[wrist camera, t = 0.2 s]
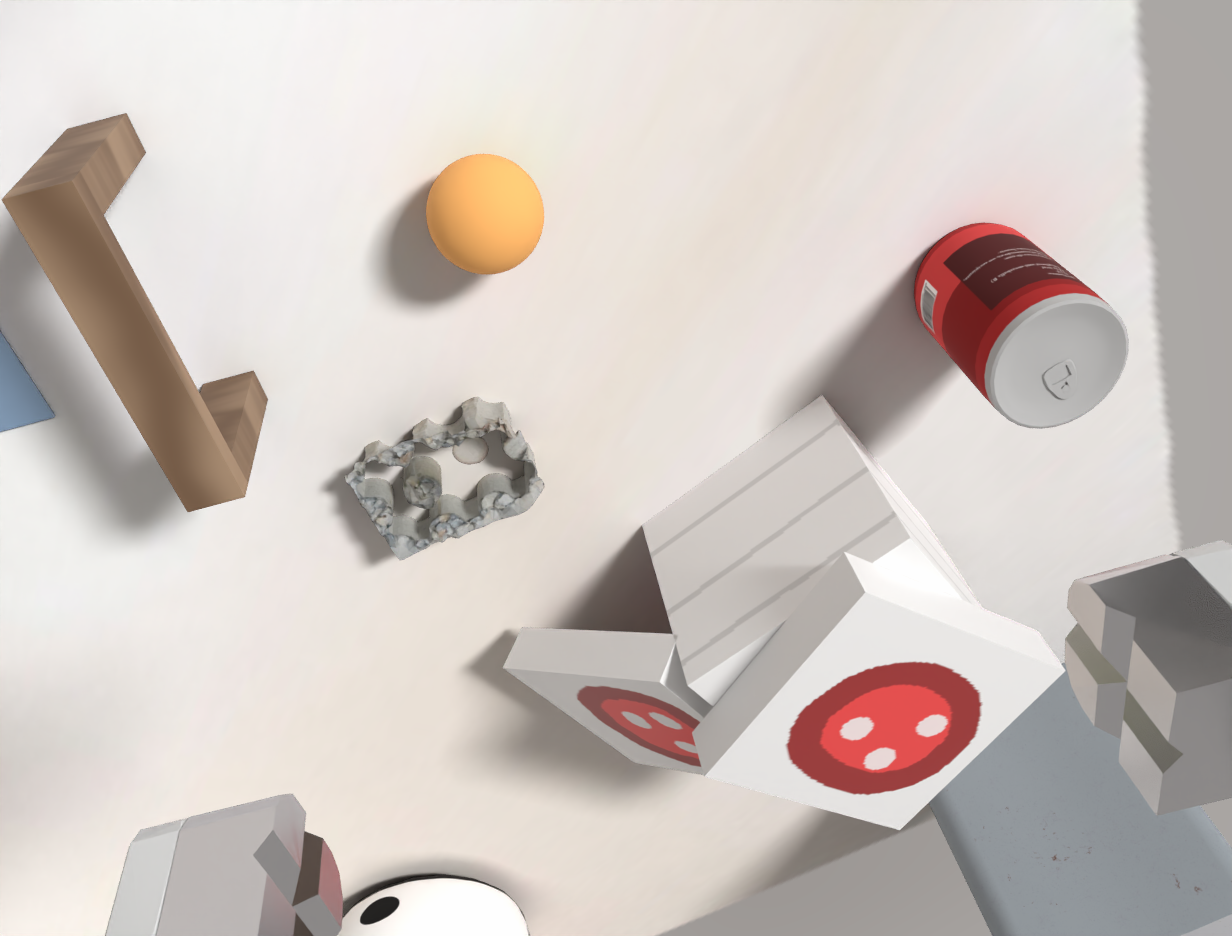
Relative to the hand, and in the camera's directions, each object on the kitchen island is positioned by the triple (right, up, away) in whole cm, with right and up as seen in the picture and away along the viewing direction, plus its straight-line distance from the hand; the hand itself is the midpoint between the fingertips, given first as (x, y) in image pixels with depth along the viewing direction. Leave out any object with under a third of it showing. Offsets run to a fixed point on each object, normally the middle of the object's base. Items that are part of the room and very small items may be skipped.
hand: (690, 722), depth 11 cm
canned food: (+21, +14, +53) cm, 58 cm away
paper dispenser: (+7, -5, +63) cm, 64 cm away
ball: (-7, +16, +42) cm, 46 cm away
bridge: (-24, +13, +45) cm, 53 cm away
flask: (+31, -17, +77) cm, 85 cm away
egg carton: (-11, +3, +55) cm, 56 cm away
